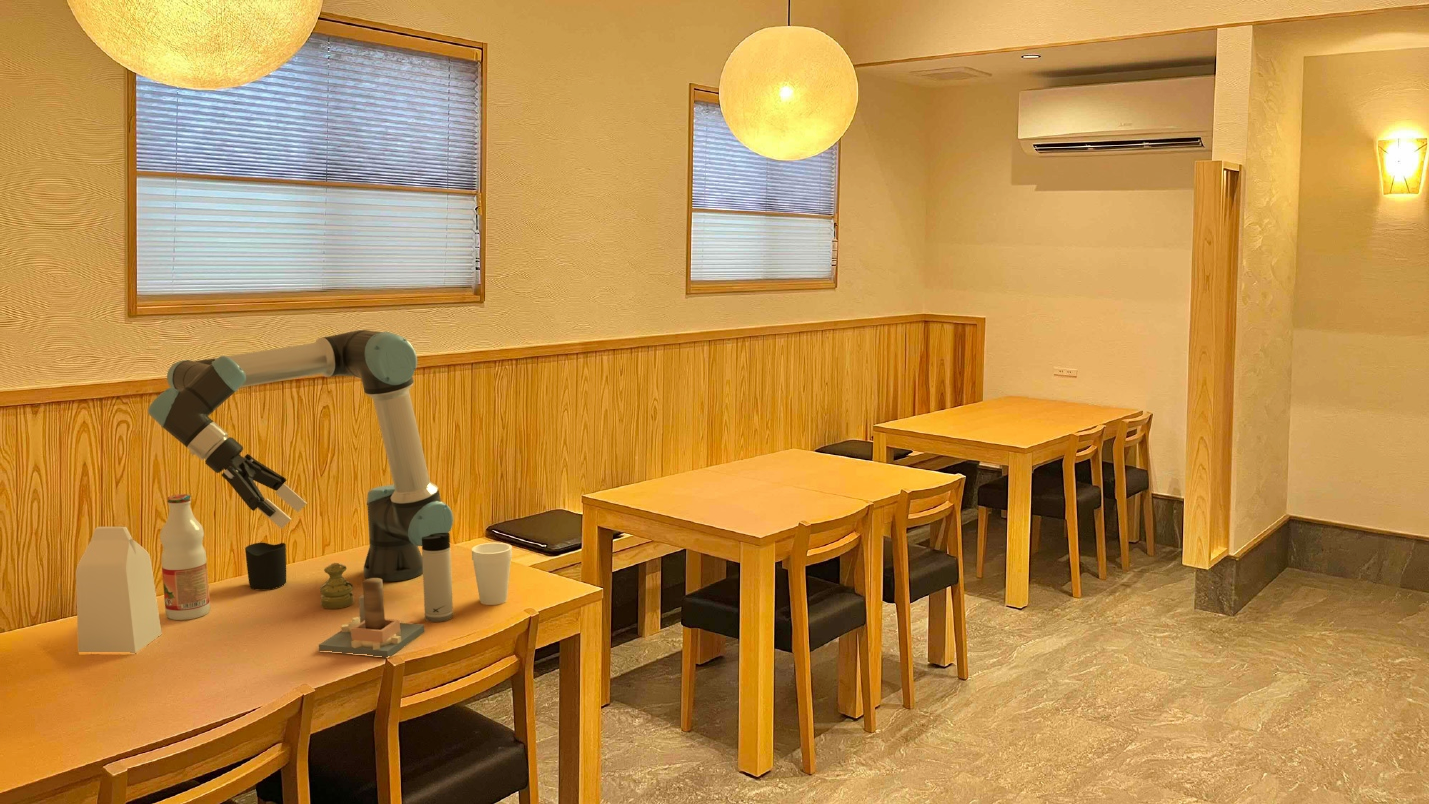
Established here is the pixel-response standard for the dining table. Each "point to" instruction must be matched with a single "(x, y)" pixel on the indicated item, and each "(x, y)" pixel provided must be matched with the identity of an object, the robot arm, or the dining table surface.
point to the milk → (115, 594)
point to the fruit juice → (184, 562)
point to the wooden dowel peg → (373, 603)
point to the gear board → (372, 637)
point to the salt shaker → (336, 588)
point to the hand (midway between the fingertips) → (295, 515)
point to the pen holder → (266, 565)
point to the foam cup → (492, 571)
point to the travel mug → (437, 577)
